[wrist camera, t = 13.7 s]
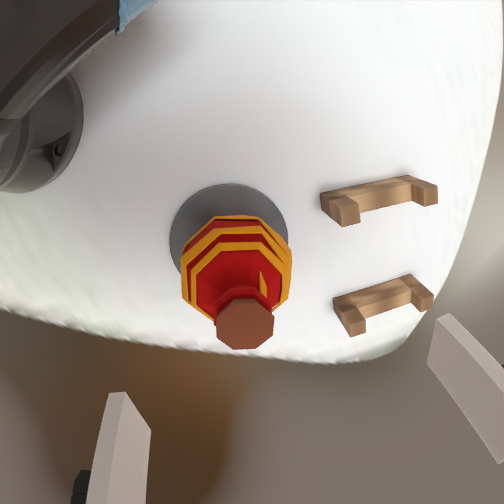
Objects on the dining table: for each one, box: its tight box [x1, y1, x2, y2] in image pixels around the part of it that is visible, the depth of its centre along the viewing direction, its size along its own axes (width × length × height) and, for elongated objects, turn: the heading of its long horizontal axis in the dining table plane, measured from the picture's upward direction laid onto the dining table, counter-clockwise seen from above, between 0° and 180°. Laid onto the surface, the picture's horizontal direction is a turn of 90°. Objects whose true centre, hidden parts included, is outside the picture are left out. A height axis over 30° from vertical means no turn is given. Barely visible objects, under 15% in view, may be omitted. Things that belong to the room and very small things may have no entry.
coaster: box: [170, 184, 288, 274], centre depth 35 cm, size 13×13×1 cm
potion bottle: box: [180, 215, 292, 350], centre depth 28 cm, size 10×10×15 cm
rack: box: [320, 175, 438, 338], centre depth 35 cm, size 12×16×6 cm
